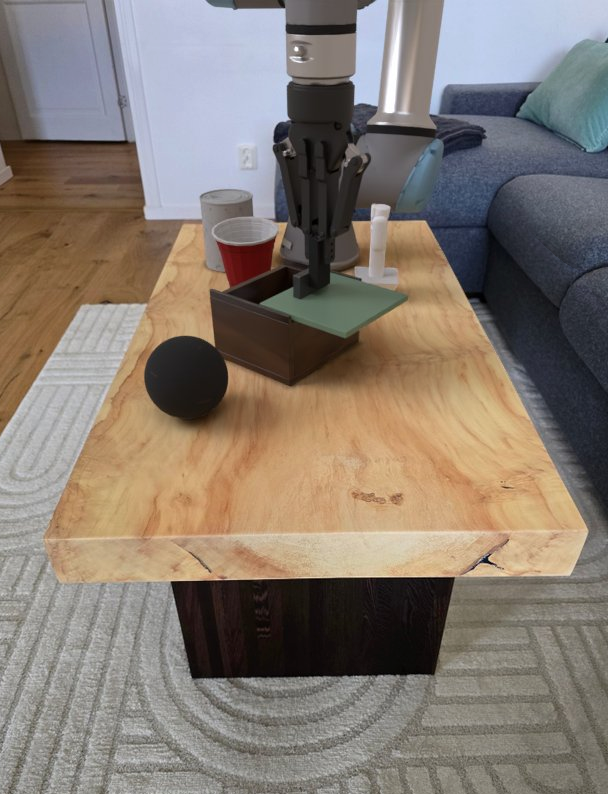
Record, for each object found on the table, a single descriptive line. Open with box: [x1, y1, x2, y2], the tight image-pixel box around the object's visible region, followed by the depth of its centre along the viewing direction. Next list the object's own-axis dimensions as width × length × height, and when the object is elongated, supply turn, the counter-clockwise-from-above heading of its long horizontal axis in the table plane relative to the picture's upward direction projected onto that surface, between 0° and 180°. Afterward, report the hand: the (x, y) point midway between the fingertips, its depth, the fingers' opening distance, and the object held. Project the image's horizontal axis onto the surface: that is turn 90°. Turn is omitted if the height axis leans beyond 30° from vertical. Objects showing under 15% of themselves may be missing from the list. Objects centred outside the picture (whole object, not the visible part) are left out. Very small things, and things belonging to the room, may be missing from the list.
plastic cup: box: [212, 216, 280, 288], centre depth 104 cm, size 11×11×12 cm
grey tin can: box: [199, 188, 254, 273], centre depth 117 cm, size 10×10×12 cm
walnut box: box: [209, 257, 362, 387], centre depth 90 cm, size 16×14×10 cm
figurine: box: [353, 204, 399, 291], centre depth 104 cm, size 7×9×15 cm
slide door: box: [260, 268, 410, 338], centre depth 82 cm, size 14×14×4 cm
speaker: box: [143, 335, 229, 420], centre depth 77 cm, size 10×10×10 cm
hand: (319, 284), depth 84 cm, fingers closed
